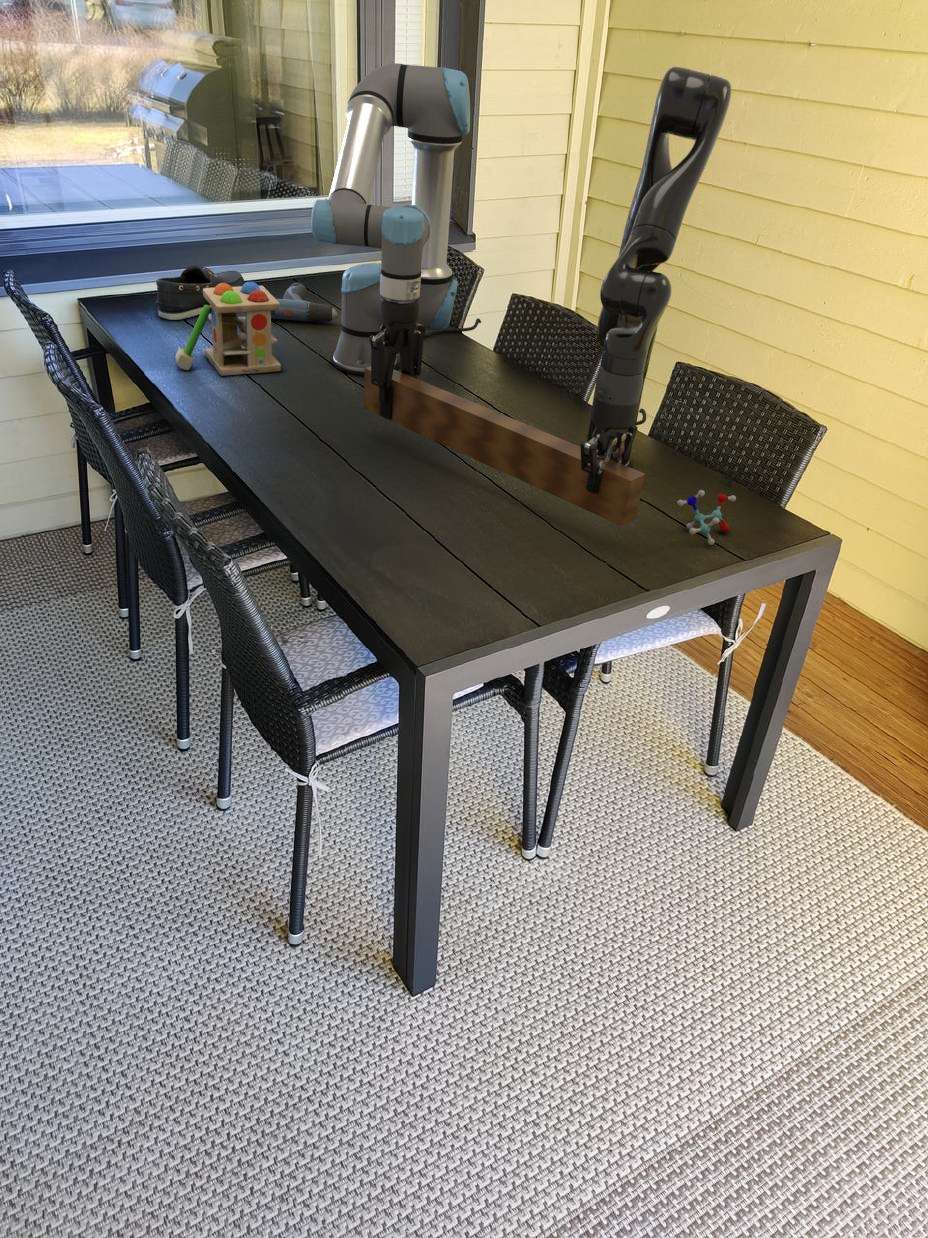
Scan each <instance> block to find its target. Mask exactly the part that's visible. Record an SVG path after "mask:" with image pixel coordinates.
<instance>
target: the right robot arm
mask: <svg viewBox="0 0 928 1238" xmlns="http://www.w3.org/2000/svg"><path fill="white" fill-rule="evenodd" d="M731 97H732V84H731V82H730V81H729V80H728V79H726V78H724V77H720V76H719V75H718V76H717V75H714V74H710V73H706V72H702V71H698V70H694V69H690V68H686V67H683V66H682V67H681V66H672V67H670V68H668V70H667V71H666V72H665V73H664V76H663V77H662V79H661V81H660V84H659V87H658V91H657V94H656V98H655V103H654V107H653V111H652V118H651V122H650V126H649V132H648V136H647V141H646V147H645V152H644V156H643V161H642V166H641V169H640V173H639V177H638V180H637V184H636V186H635V189H634V190H635V191H634V194H633V197H632V200H631V203H630V207H629V210H628V214H627V218H626V221H625V226H624V230H623V235H622V238H621V243H620V248H619V252H618V256H617V259H616V260H615V261H614V263H613V264H612V265H611V267H610V268H609V270H608V272H607V273H606V275H605V276H604V279H603V281H602V283H601V286H600V292H599V298H600V303H601V306H602V307H601V310H600V314H599V317H598V322H597V328H596V337H597V341H598V344H599V345H600V347H602V352H601V354H602V355H601V360H600V366H599V368H598V372H597V376H596V380H595V386H594V393H593V398H592V403H591V411H590V420H589V426H588V432H587V439H586V441H585V440H583V441H581V443H580V447H581V469H582V470H583V471H585V472H587V473H589V475H588V480H587V486H586V489H587V491H588V492H591V493H593V494H597V493H598V492H599V489H600V483H601V478H602V472H603V469H604V466H605V463H607V462H609V460H610V459H611V460H613V461H616V462H618V463H620V464H623V465H625V466H628V467H630V466H629V465H630V458H631V453H632V449H633V444H634V440H635V437H636V435H637V432H638V426H641V425H643V424H645V423H646V421H647V412H646V410H645V409H644V408H640V407H641V402H642V401H641V400H642V395H643V390H644V387H645V380H646V377H647V374H648V369H649V365H650V360H651V355H652V352H653V347H654V345H655V341H656V337H657V336H656V335H657V332H658V327H659V323H660V321H661V319H662V317H663V315H664V313H665V311H666V309H667V307H668V306H669V303H670V301H671V297H672V284H671V281H670V279H669V278H668V276H667V275H666V274H665V273H661V272H658V271H655V270H657V268H658V267H659V266H661V265H662V264H664V263H666V262H668V261H669V259H670V258H671V256H672V255H673V253H674V249H675V245H676V242H677V239H678V237H679V233H680V230H681V227H682V224H683V221H684V217H685V215H686V212H687V209H688V206H689V204H690V202H691V199H692V197H693V195H694V192H695V190H696V188H697V186H698V184H699V182H700V180H701V177H702V175H703V173H704V171H705V169H706V166H707V164H708V162H709V160H710V157H711V155H712V152H713V150H714V147H715V145H716V143H717V141H718V139H719V136H720V133H721V130H722V128H723V125H724V122H725V121H726V116H727V113H728V111H729V106H730V102H731V99H732V98H731ZM670 135H672V136H675V137H679V138H683V139H688V140H690V141H694V143H693V145H692V146H691V149H690V150H689V151H688V152H687V154H686V156H685V157H684V158H682V159H681V161H680V162H679V163H678V164H677V165H676V166H674V167H673V166H672V161H671V156H670ZM639 413H640V414H641V416H642V419H640V420H638V417H639ZM597 460H598V461H599V462H600V463H599V466H598V467H597ZM588 463H589V464H588Z"/></svg>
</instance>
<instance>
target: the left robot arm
mask: <svg viewBox="0 0 928 1238" xmlns="http://www.w3.org/2000/svg"><path fill="white" fill-rule="evenodd" d="M468 79H469V78H468V76H467V75H466V74H465V72H463V71H461V70H457V69H452V68H449V67H448V68H447V67H440V66H439V67H438V66H428V65H427V66H425V65H417V64H404V63H399V62H398V63H397V62H395V63H388V64H387V63H386V64H384V65H382V66H379V67H377V68H376V69H374V70H372V71H370V72H369V73H367V75H365V76H364V77H363V78H362V79H360V81H359V82H358V83H357V85H356V86H355V87H354V88H353V90H352V92H351V94H350V96H349V98H348V101H347V105H346V109H345V118H346V122H347V125H346V128H345V129H346V130H345V133H344V137H343V140H342V145H341V149H340V151H339V156H338V161H337V164H336V167H335V172H334V175H333V180H332V183H331V187H330V191H329V194H328V198H324V199H316V201H315V202H313V205H312V210H311V221H310V223H311V232H312V236H313V238H314V239H315V240H316V241H318V242H323V243H326V244H327V243H328V244H333V245H343V246H355V247H363V248H365V247H366V248H374V249H381V255H380V256H381V261H380V262H379V263H378V262H370V263H361V264H356V265H352V266H351V267H348V268H346V270H345V271H344V272H343V274H342V277H341V278H342V281H341V288H340V292H341V319H340V321H341V324H340V325H341V326H340V329H341V330H340V336H339V338H338V341H337V344H336V348H335V350H334V352H333V361H332V362H333V363H332V364H333V366H334V367H335V368H337V369H338V370H339V371H342V372H344V373H347V374H352V375H356V376H365V368H366V367H370V366H371V383H372V384H374V385H376V386H378V387H379V402H380V415H381V416H383V417H385V418H387V419H386V420H388V419H389V420H388V421H390V419H392V412H393V387H391V381H392V375H393V370H396V368H397V361H398V359H397V355H398V354H399V363H400V372H402V373H404V374H406V375H409V376H411V377H414V378H416V379H418V376H421V373H422V367H423V366H422V365H423V350H424V340H425V339H424V338H426V337H429V336H432V335H435V334H440V333H456V332H457V333H460V332H470V331H473V330H475V329H476V328H478V325H479V324H481V323H482V320H481V318H478V317H477V318H476V319H475V322H474V325H472V326H469V327H459V328H458V327H455V328H454V327H451V328H450V327H449V325H450V323H451V318H452V314H453V309H454V305H455V300H456V296H457V290H458V285H459V282H458V280H456V279H455V278H453V270H452V268H451V267H450V266H449V265H448V264H447V259H448V247H449V233H450V231H449V230H450V215H451V201H452V188H453V187H452V186H453V173H454V157H455V151H456V149H457V148H458V147H460V145H461V144H462V143H463V135H464V136H465V135H468V134H469V133H470V131H471V130H470V129H471V96H470V84H469V80H468ZM392 127H397V128H405V129H407V139H408V140H409V142H410V143H411V145H412V146H413V163H412V164H413V167H412V184H411V185H412V187H411V203H410V204H406V205H402V206H384V205H375V204H369V202H370V198H371V194H372V189H373V185H374V181H375V176H376V172H377V168H378V163H379V159H380V154H381V152H382V151H381V150H382V145H383V141H384V136H385V135H387V134H388V133H389V131H390V130H391V128H392ZM426 331H427V332H426ZM384 380H385V381H384ZM381 416H380V417H381ZM383 417H382V418H383ZM385 418H384V419H385Z"/></svg>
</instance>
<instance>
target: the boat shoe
mask: <svg viewBox="0 0 928 1238" xmlns="http://www.w3.org/2000/svg"><path fill="white" fill-rule="evenodd" d="M155 281H156V282H155V284H156V289H157V291H156V299H157V300H155V304H156V305H157V306H158V308H157V310H158V311H157V312H158V316H159V317H160V318H162V319H165V320H170V321H173V320H174V321H176V320H177V321H178V320H184V319H188V318H191V317H195V316H198V315H199V316H200V314H201V311H202V309H203V307H204V305H208V306H210V307H211V305H210V304H209V302H208V301H207V300H206V299H205V297H204V296H203V289H204V288H215V287H216V286H217V285H218V284H221V283H226V284H228V285H230V286H231V287H242V286H243V285H244V284H245V283H246V282H245V279H244V276H242V274H241V272H239V271H238V270H226V271H220V272H216V273H215V272H214V271H212V270H211V269H210V268H207V267H205V266H202V265H198V264H192V265H190V266H188V267H186V268H185V269H184V270H183V271H182V272H181V273H180V275H178V276H173V277H172V276H171V277H159V278H157V279H156V280H155Z"/></svg>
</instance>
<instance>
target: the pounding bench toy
mask: <svg viewBox="0 0 928 1238" xmlns="http://www.w3.org/2000/svg"><path fill="white" fill-rule="evenodd" d="M203 296H204V297H205V299H206V300H207V301H208V302H209V304H210V305H211V307H210V306H208V305H204V307H203V309H202V311H201V314H199V316H198V318H197V320H196V322H195V324H194V327H193V329H192V331H191V332H190V333H191V334H190V336H189V338H188V340H187V343H186V344H185V347H184V348H182V347H180V346H179V347H178V349H177V351H176V354H175V357H174V358H175V362H176V365H177V366H178V368H179V369H182V370H185V371H189V370H190V369H191V367H192V365H193V363H194V356H193V351H194V348H195V347H196V345H197V342H198V340H199V337H200V336H201V333H202V332H203V329H204V326H205V325H206V322H207V320H209V321H210V322H211V336H212V337H211V338H212V339H211V340H212V348H205V349H204V352H205V353H204V355H205V357H206V359H208V361H209V363H210V364H211V365H212V366H213V367H214V369H215V370H216V371H217V372H218V374H219V375H220V376H222V377H223V376H234V375H235V376H236V375H246V374H247V375H250V374H262V373H275V372H281V370H282V364H281V363H280V362H279V360H278V359H277V358H276V357H275V356H274V355H273V348H272V347H273V345H272V344H276V343H278V342H279V341H278V339H277V338H276V337H275V336H274V334H272V318H271V310H280V303H279V302H278V301H277V300H276V299H277V298H276V297H274V296H273V295H272V294H271V293H270V292H269V290H268V289H267V288H266V287H264V285H259V284H257V283H256V282H255V281H247V282H245V284H244V285H243V286H242V287H231V286H230V285H228V284H226V283H221V284H218V285H217V286H216V287H215V288H204V289H203ZM238 313H244V314H245V315H244V316H238ZM238 329H239V331H240V333H239V334H238Z"/></svg>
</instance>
